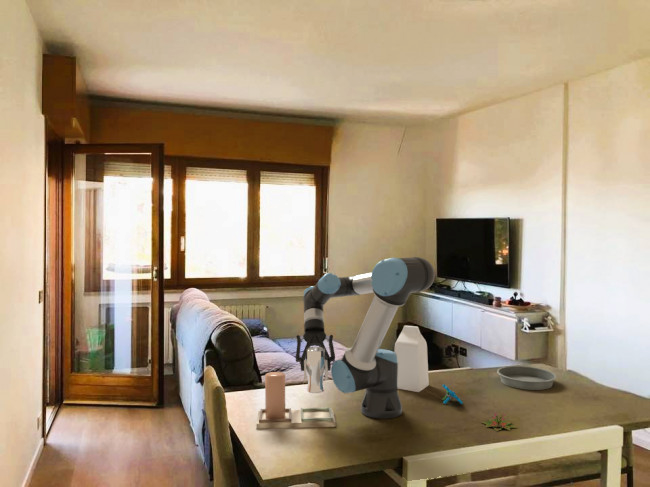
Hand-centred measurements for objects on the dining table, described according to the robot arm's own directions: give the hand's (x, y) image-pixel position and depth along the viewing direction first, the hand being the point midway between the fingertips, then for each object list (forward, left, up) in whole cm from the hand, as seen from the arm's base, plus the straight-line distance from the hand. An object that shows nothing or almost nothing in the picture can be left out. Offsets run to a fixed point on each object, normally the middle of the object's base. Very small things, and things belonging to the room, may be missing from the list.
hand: (316, 378), depth 189 cm
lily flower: (-57, -26, -17) cm, 65 cm away
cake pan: (-60, -85, -16) cm, 106 cm away
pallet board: (+8, +1, -16) cm, 18 cm away
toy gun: (-37, -43, -16) cm, 59 cm away
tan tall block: (+14, +4, -14) cm, 20 cm away
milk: (-16, -57, -16) cm, 62 cm away
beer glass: (+2, -3, -6) cm, 7 cm away
